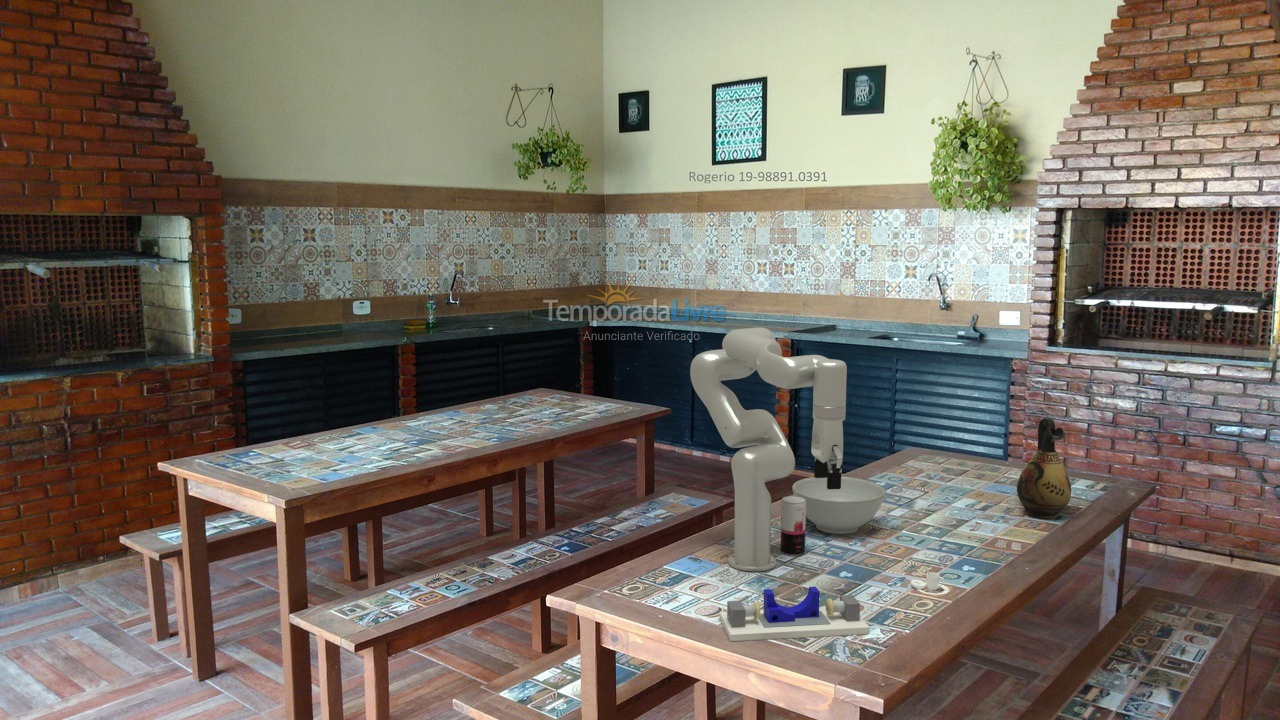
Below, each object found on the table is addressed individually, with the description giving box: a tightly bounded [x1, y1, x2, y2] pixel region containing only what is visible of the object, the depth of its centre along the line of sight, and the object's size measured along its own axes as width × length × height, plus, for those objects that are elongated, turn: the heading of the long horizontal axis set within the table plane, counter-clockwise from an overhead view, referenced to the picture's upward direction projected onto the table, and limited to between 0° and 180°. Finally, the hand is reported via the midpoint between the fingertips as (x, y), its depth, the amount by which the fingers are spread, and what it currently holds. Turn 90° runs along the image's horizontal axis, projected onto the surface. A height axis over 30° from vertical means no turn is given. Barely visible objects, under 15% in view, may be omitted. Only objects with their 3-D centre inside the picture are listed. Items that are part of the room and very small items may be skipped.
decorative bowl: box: [791, 476, 886, 535], centre depth 275 cm, size 27×27×12 cm
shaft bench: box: [719, 594, 870, 642], centre depth 208 cm, size 12×31×6 cm, turn 97°
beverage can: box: [780, 495, 807, 557], centre depth 254 cm, size 7×7×15 cm
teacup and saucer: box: [910, 572, 950, 596], centre depth 230 cm, size 9×8×4 cm
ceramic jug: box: [1016, 417, 1072, 520], centre depth 287 cm, size 17×15×30 cm
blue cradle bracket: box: [763, 586, 821, 623], centre depth 209 cm, size 12×4×6 cm, turn 97°
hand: (827, 483), depth 221 cm, fingers open, 9 cm apart
